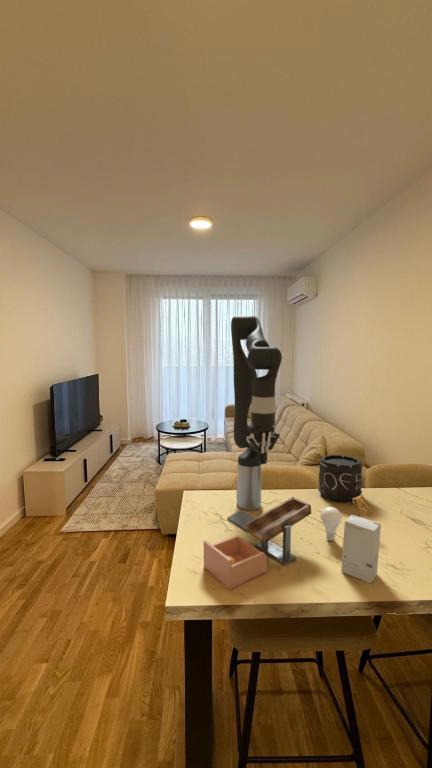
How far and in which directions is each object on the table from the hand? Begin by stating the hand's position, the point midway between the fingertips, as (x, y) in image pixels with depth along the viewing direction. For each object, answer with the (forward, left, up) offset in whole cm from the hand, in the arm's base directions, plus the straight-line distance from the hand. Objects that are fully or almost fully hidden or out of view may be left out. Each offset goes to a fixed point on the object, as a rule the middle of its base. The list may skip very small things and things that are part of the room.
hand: (262, 463), depth 116 cm
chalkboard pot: (-8, +52, -26) cm, 59 cm away
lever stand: (+8, -2, -25) cm, 27 cm away
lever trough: (+3, 0, -17) cm, 17 cm away
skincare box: (+29, +10, -26) cm, 40 cm away
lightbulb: (+13, +18, -26) cm, 34 cm away
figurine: (+14, +34, -26) cm, 45 cm away
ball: (+8, -20, -23) cm, 31 cm away
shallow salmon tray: (+8, -18, -25) cm, 32 cm away
